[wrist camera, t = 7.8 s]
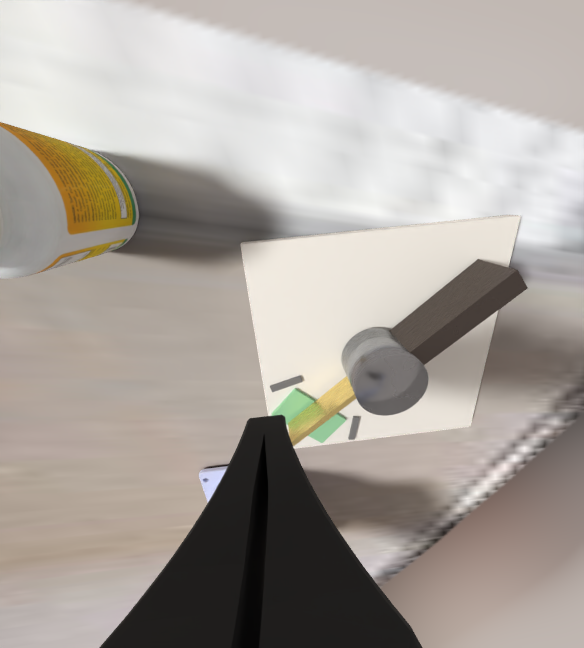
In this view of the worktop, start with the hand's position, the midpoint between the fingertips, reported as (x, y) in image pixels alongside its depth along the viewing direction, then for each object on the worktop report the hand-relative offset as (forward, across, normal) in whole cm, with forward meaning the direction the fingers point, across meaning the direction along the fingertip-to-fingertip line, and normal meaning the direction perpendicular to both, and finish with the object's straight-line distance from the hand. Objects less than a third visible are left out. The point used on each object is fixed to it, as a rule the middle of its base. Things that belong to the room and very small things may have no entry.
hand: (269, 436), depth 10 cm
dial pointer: (+9, -7, +2) cm, 12 cm away
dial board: (+10, -8, +2) cm, 13 cm away
